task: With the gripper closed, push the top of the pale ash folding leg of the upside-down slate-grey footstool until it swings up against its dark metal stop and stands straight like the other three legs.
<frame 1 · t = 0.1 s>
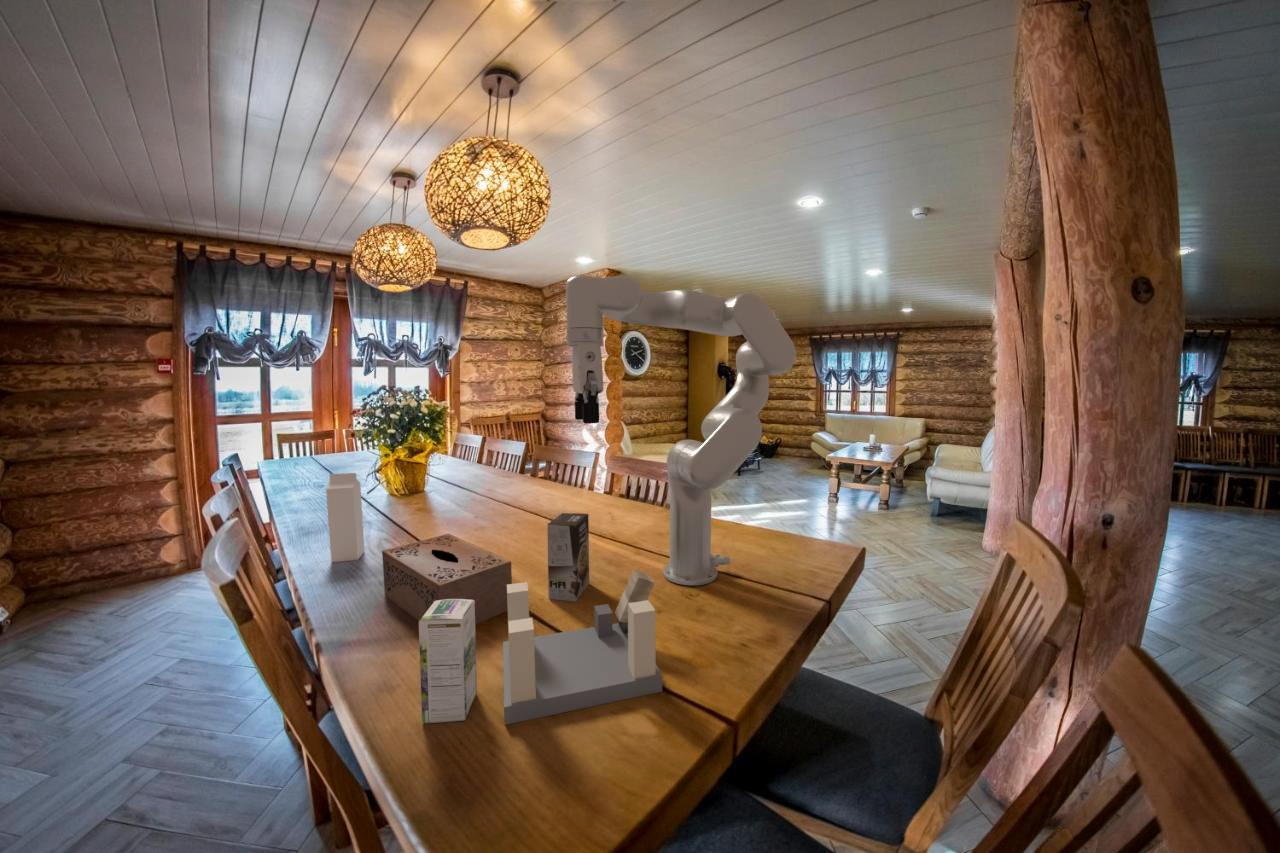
hand: (586, 421, 97), 37 cm above the table, tool pointing down, fingers open, 9 cm apart
folding leg: (632, 601, 80), point 7 cm above the table, hinge at 25.0°
tissue box cover: (446, 603, 95), on the table
coffee box: (570, 592, 99), on the table
milk: (348, 557, 120), on the table
syrup box: (451, 709, 64), on the table
footstool: (577, 672, 71), on the table
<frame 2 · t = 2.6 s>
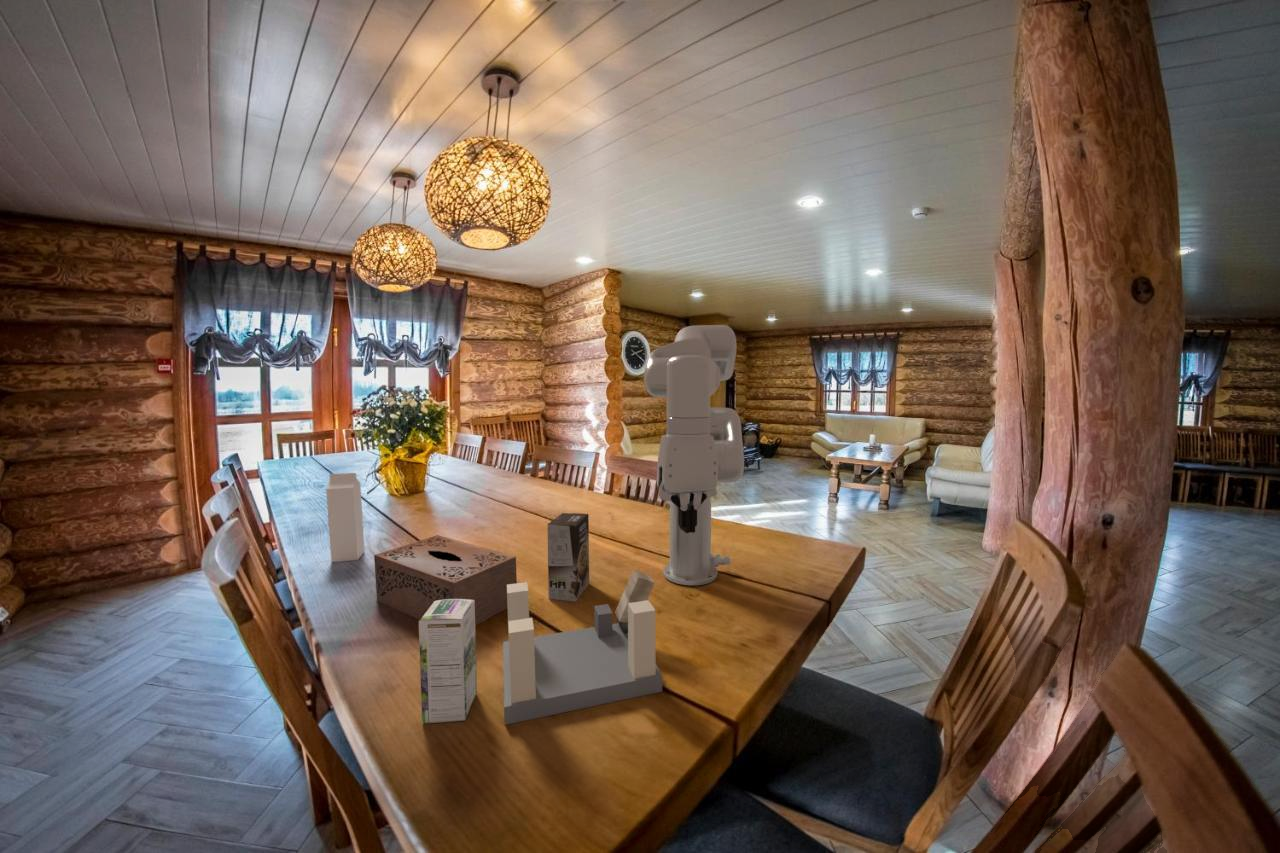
hand: (687, 530, 82), 19 cm above the table, tool pointing down, fingers closed
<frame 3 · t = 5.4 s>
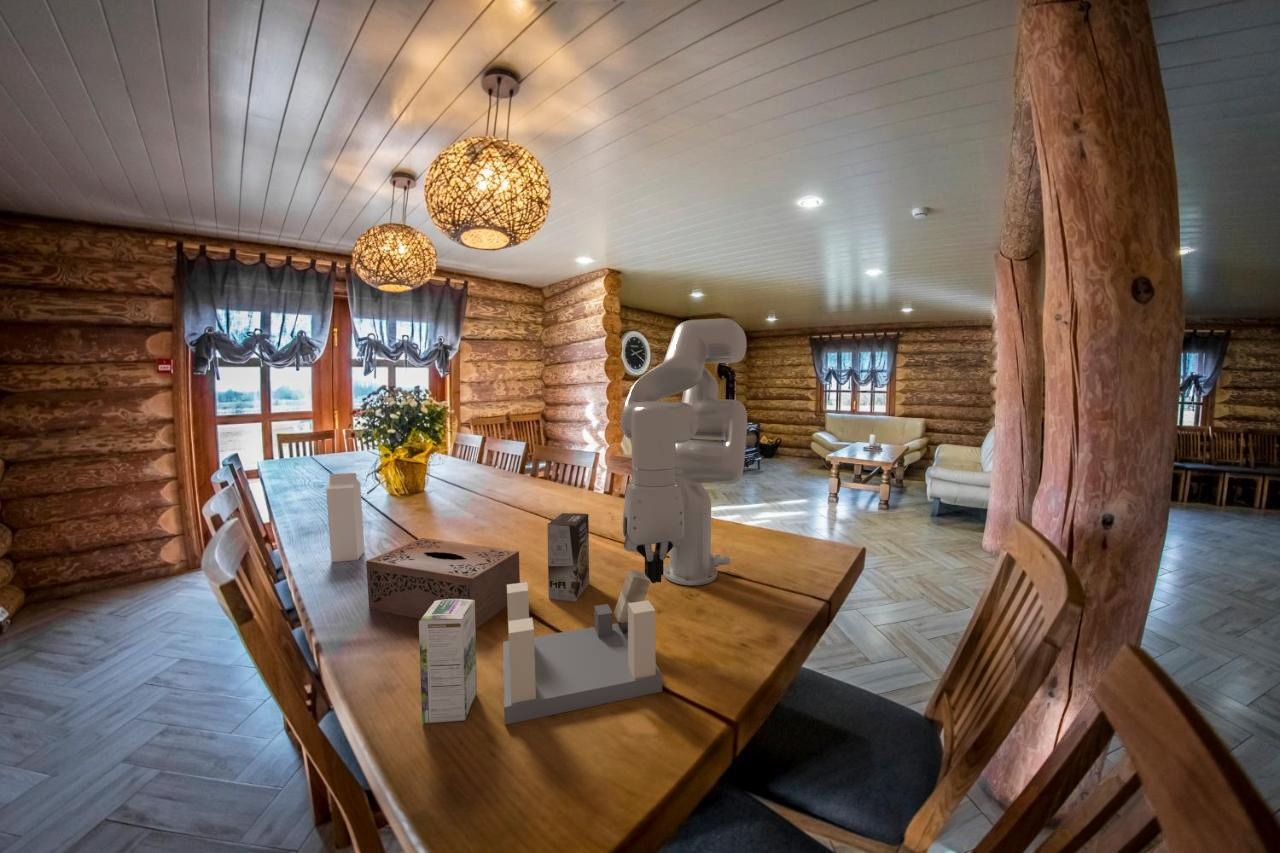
hand: (654, 579, 81), 10 cm above the table, tool pointing down, fingers closed
folding leg: (630, 601, 79), point 7 cm above the table, hinge at 19.9°, touching gripper
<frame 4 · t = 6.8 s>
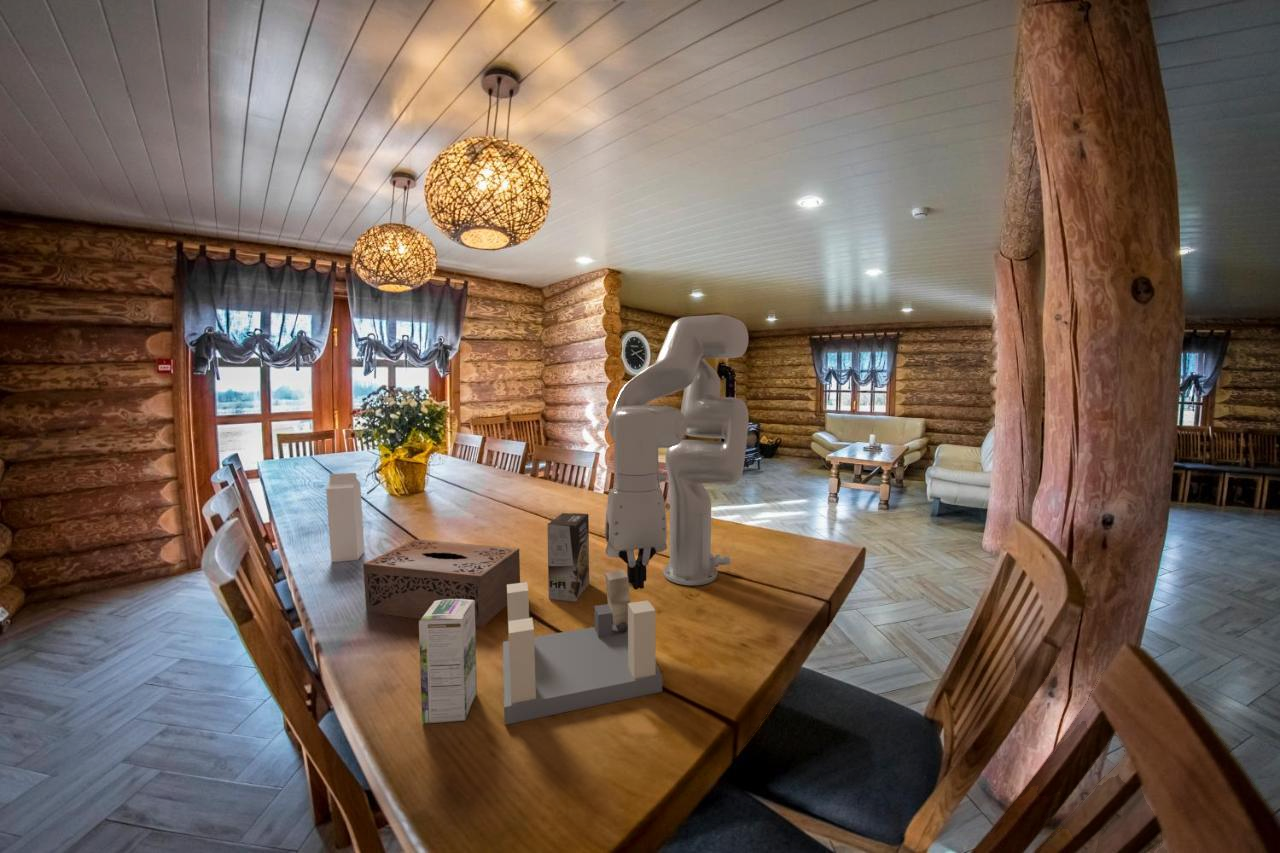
hand: (636, 585, 80), 10 cm above the table, tool pointing down, fingers closed
folding leg: (618, 601, 79), point 8 cm above the table, hinge at -4.2°, touching footstool, gripper
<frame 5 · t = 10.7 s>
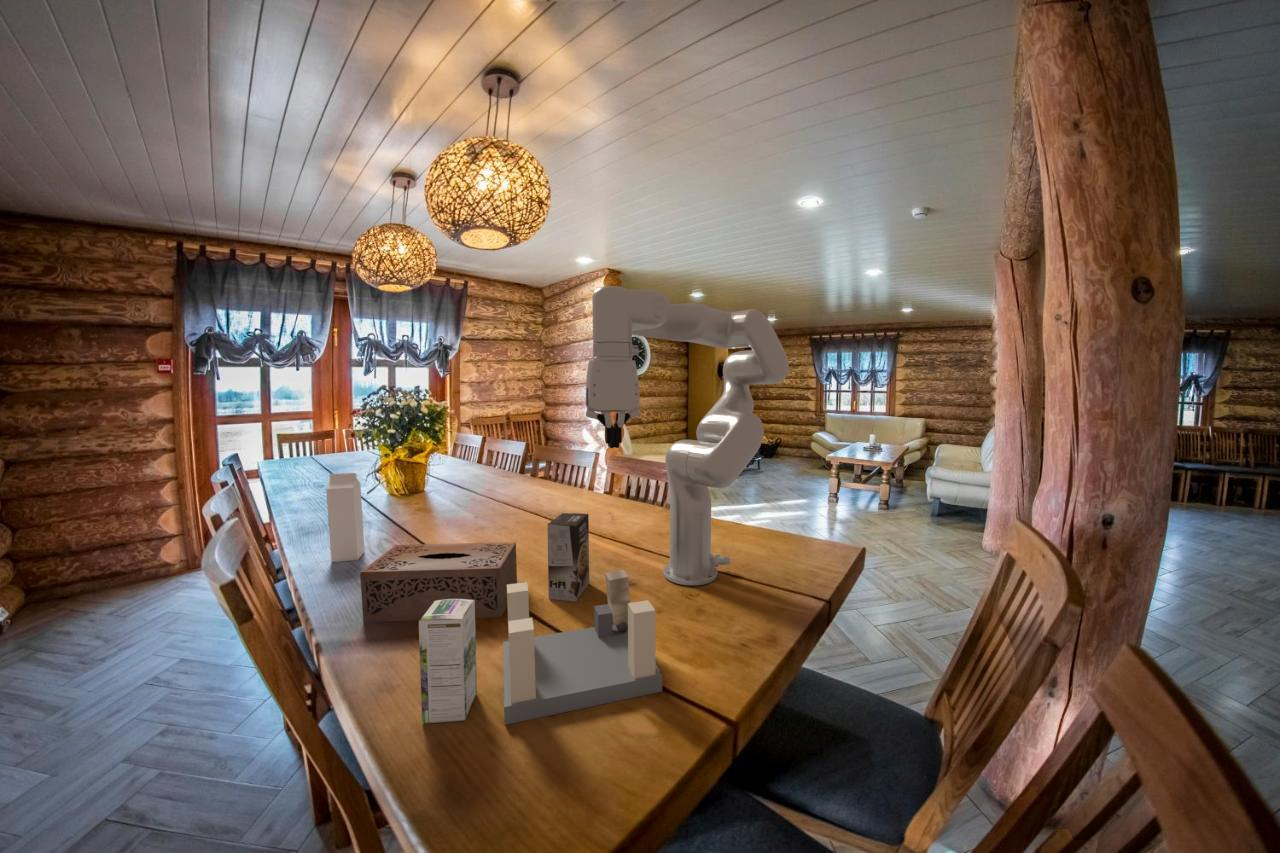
hand: (613, 446, 91), 32 cm above the table, tool pointing down, fingers closed
folding leg: (618, 601, 79), point 8 cm above the table, hinge at -4.2°
at the end: folding leg at -4° (first picture: +25°); syrup box moved 0.2 cm from its start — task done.
